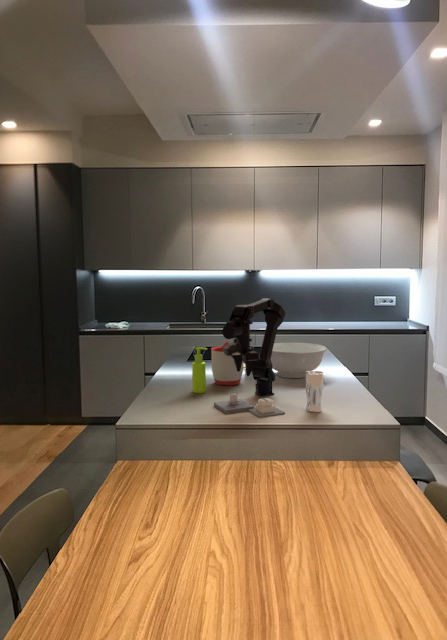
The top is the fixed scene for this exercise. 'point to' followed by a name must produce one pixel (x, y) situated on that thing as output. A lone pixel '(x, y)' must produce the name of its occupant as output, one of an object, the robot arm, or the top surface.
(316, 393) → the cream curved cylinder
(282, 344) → the bowl
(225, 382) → the citrus juicer
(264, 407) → the cream domed square block
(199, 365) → the soap dispenser
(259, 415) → the mat
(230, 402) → the plinth
